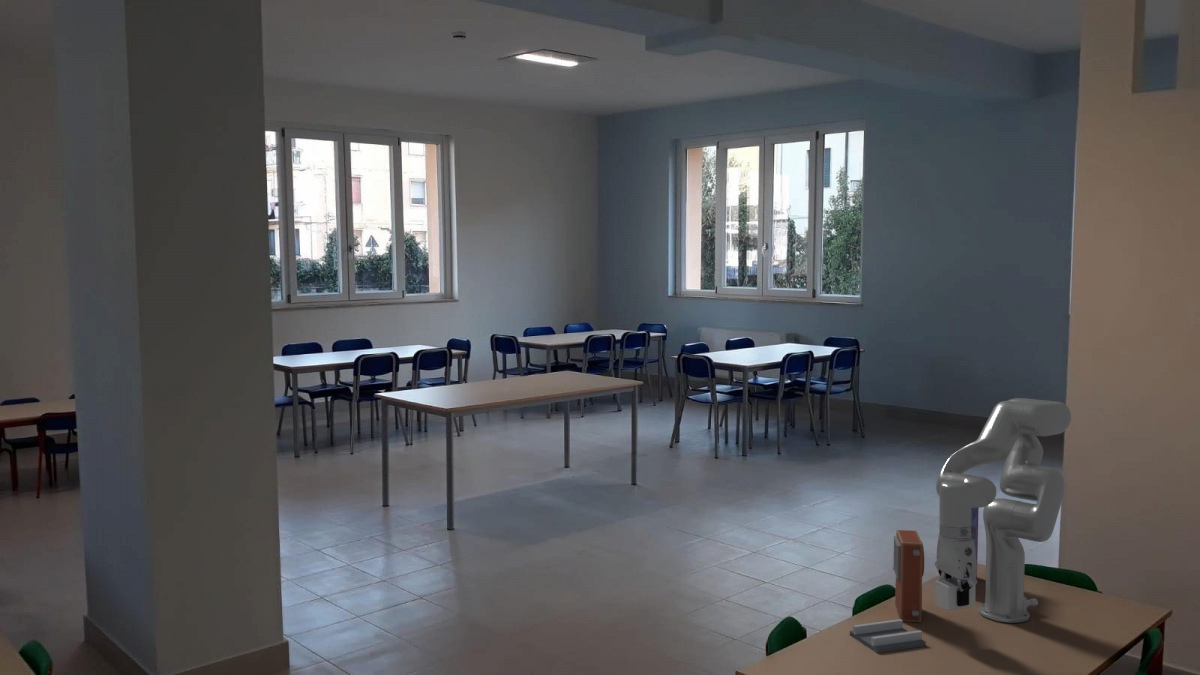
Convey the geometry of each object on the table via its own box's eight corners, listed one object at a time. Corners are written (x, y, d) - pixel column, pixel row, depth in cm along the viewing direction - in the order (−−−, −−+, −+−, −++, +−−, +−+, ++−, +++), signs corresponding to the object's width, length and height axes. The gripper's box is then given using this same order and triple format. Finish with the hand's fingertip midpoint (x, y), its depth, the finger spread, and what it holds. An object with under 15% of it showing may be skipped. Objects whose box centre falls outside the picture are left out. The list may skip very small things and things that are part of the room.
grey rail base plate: (896, 628, 244) (896, 617, 243) (925, 645, 232) (925, 633, 232) (849, 634, 239) (849, 623, 239) (877, 652, 228) (877, 641, 228)
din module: (962, 599, 238) (962, 576, 237) (975, 606, 233) (975, 582, 233) (935, 603, 236) (935, 580, 235) (948, 610, 231) (948, 587, 230)
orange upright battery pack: (917, 604, 261) (924, 624, 246) (891, 603, 262) (897, 622, 247) (918, 529, 259) (926, 545, 244) (892, 528, 260) (898, 543, 246)
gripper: (991, 538, 226) (991, 611, 227) (945, 519, 242) (945, 587, 244) (965, 542, 223) (965, 615, 225) (921, 523, 240) (921, 591, 241)
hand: (955, 600), depth 234 cm, fingers closed on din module, 5 cm apart
